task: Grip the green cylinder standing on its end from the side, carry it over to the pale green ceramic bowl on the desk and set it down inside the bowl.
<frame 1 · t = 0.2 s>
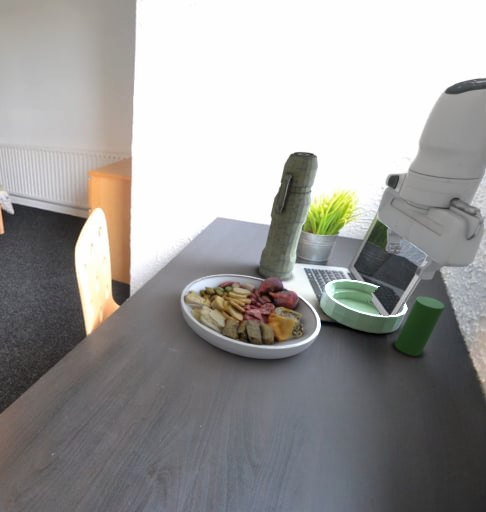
hand: (406, 264, 66), 23 cm above the table, tool pointing down, fingers open, 8 cm apart
green cylinder: (407, 348, 79), on the table
bowl: (357, 313, 91), on the table
thermos: (274, 273, 109), on the table
bowl 2: (242, 323, 88), on the table
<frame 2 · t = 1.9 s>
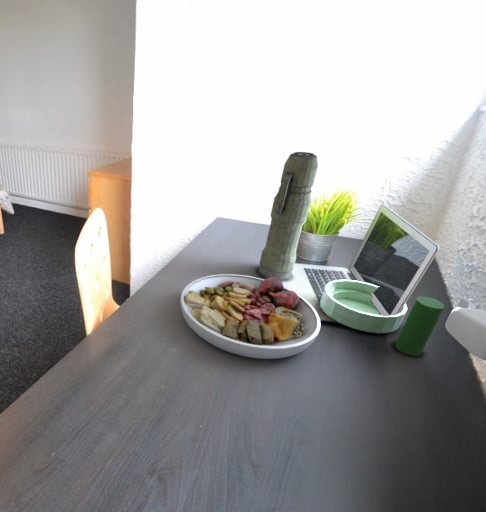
nothing on the table moved.
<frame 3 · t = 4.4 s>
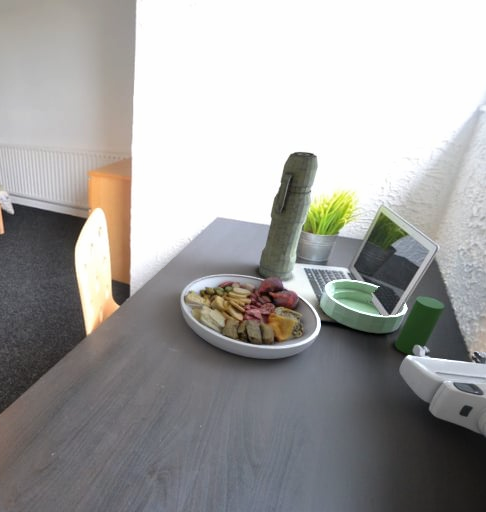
hand: (447, 351, 69), 7 cm above the table, tool horizontal, fingers open, 8 cm apart
nothing on the table moved.
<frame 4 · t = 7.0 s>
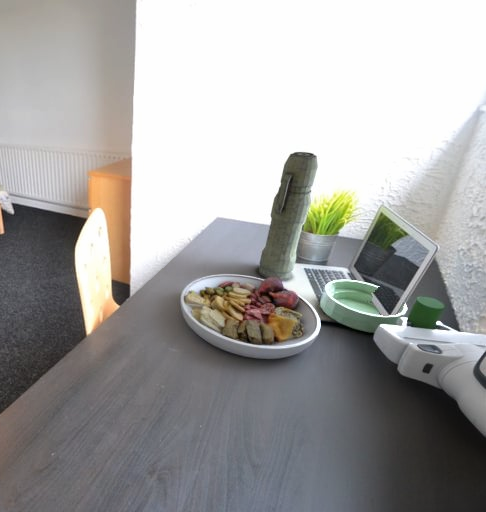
hand: (417, 321, 77), 7 cm above the table, tool horizontal, fingers closed on green cylinder, 4 cm apart
green cylinder: (407, 348, 79), on the table, touching gripper
everything else where it was.
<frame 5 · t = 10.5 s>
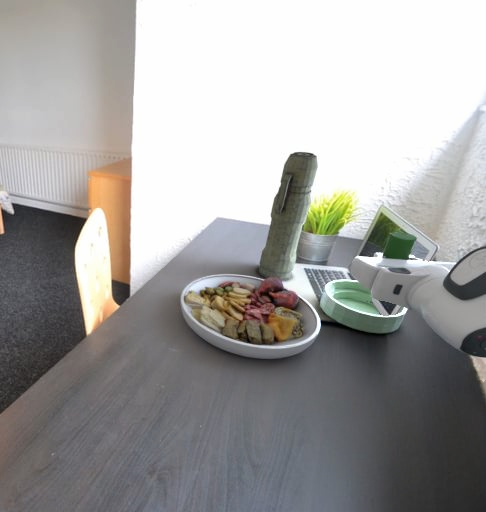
hand: (391, 256, 81), 17 cm above the table, tool horizontal, fingers closed on green cylinder, 4 cm apart
green cylinder: (383, 284, 83), point 10 cm above the table, touching gripper
everything else where it was.
when the fingers open (7 cm above the table, at t = 14.1 s): green cylinder stays where it is, resting on bowl.
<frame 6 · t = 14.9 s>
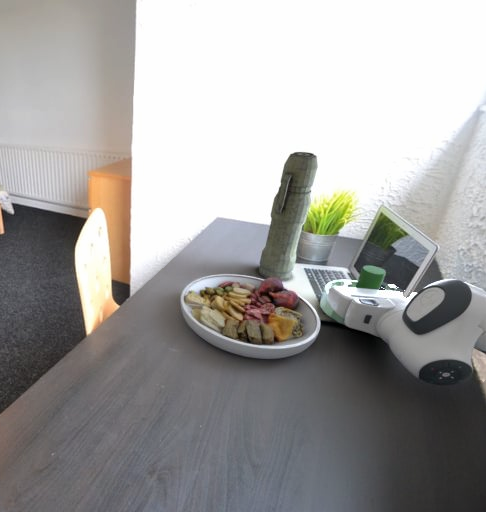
hand: (366, 285, 88), 8 cm above the table, tool horizontal, fingers open, 8 cm apart
green cylinder: (357, 312, 90), resting on bowl
everything else where it was.
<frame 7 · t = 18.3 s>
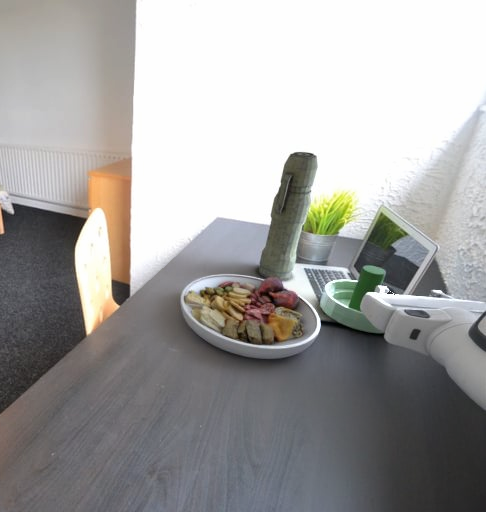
hand: (406, 290, 74), 14 cm above the table, tool horizontal, fingers open, 8 cm apart
nothing on the table moved.
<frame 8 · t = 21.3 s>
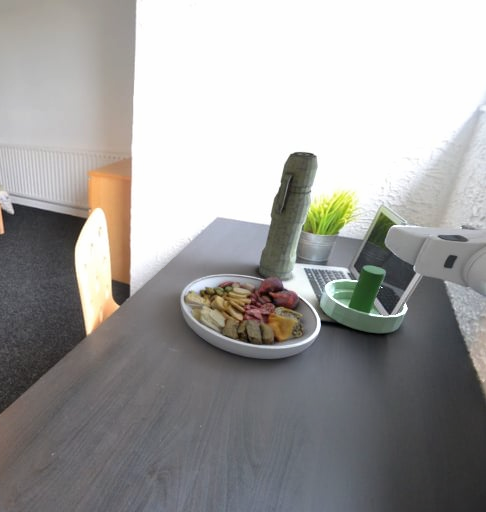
hand: (434, 227, 67), 28 cm above the table, tool horizontal, fingers open, 8 cm apart
nothing on the table moved.
at the end: green cylinder inside the target area in the bowl (0.1 cm from its centre), point 0.5 cm above the bowl's base; the gripper is holding nothing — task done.
